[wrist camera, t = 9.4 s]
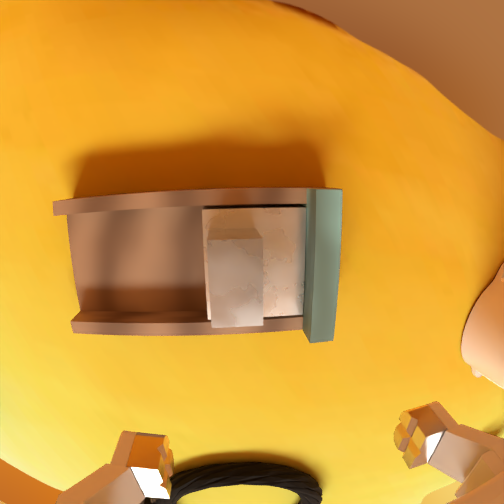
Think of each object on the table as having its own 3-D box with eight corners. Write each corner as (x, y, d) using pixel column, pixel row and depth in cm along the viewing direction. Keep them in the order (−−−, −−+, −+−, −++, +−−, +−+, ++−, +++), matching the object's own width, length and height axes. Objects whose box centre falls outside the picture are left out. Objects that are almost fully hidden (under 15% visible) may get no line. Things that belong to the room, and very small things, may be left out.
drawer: (325, 187, 28) (354, 190, 21) (321, 308, 30) (344, 339, 24) (72, 198, 25) (37, 204, 19) (88, 315, 28) (62, 345, 22)
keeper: (298, 204, 26) (324, 213, 19) (296, 303, 28) (318, 339, 21) (203, 206, 25) (197, 216, 19) (208, 307, 27) (206, 347, 21)
